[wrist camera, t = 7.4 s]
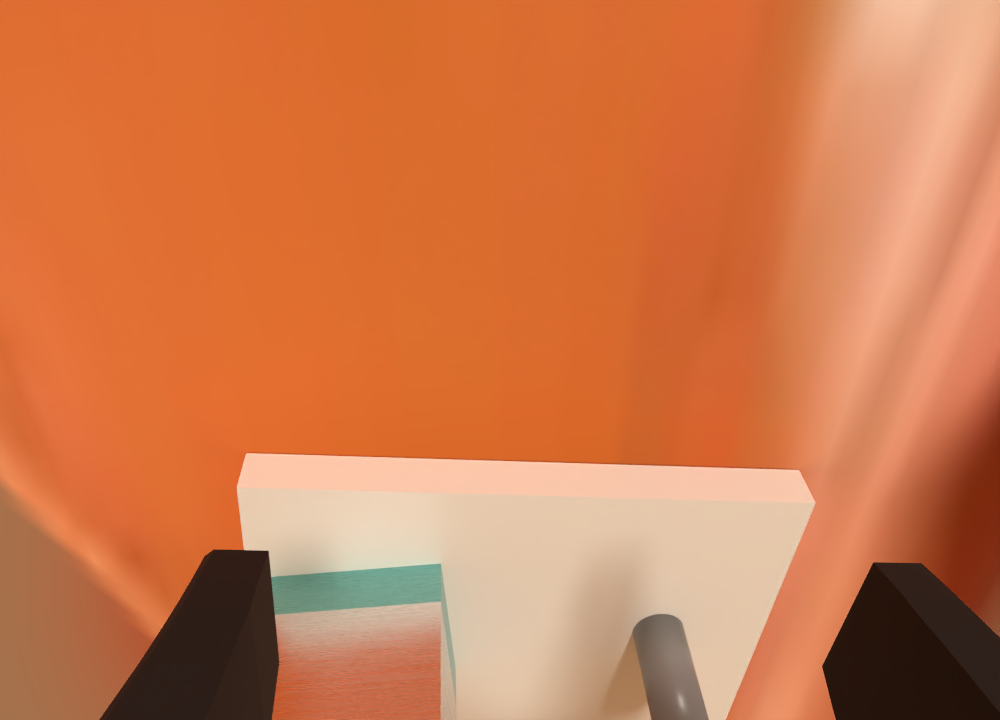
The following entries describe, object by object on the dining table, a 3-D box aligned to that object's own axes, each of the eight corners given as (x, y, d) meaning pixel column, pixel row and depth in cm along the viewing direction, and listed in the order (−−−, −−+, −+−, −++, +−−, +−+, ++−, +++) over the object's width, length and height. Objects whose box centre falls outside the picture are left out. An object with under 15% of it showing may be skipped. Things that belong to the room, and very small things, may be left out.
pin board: (799, 470, 22) (864, 600, 19) (710, 698, 28) (747, 830, 24) (246, 453, 21) (207, 590, 17) (271, 696, 27) (246, 836, 23)
